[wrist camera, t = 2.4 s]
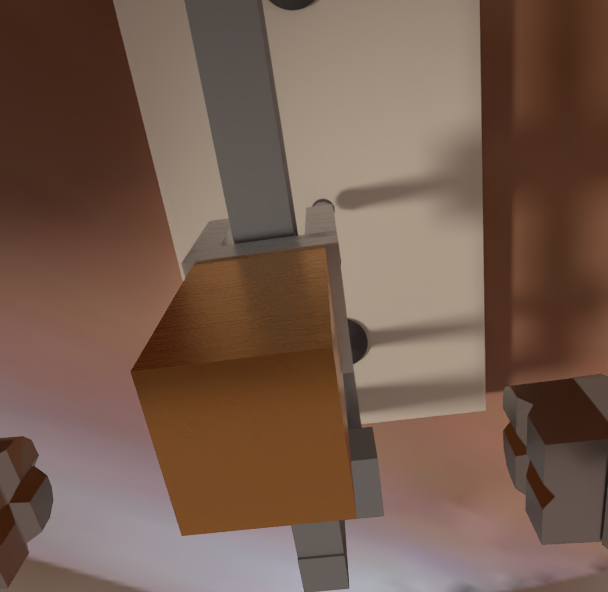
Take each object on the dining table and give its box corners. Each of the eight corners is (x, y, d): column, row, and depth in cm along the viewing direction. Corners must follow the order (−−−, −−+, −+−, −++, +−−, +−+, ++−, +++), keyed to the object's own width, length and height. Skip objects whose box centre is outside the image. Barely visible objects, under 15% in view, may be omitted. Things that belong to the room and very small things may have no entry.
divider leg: (252, 256, 24) (166, 539, 10) (237, 177, 23) (110, 371, 9) (339, 245, 24) (379, 518, 10) (329, 164, 23) (357, 341, 8)
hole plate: (226, 422, 31) (179, 617, 20) (73, -210, 20) (-214, -537, 9) (477, 394, 30) (571, 582, 19) (462, -288, 19) (664, -757, 8)
